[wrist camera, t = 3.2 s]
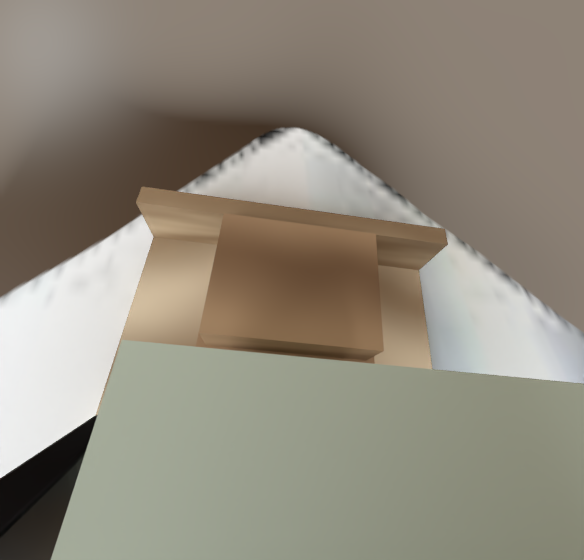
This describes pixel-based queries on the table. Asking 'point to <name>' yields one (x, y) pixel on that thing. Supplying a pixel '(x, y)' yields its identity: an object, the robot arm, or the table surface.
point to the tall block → (324, 462)
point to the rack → (209, 213)
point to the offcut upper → (294, 290)
